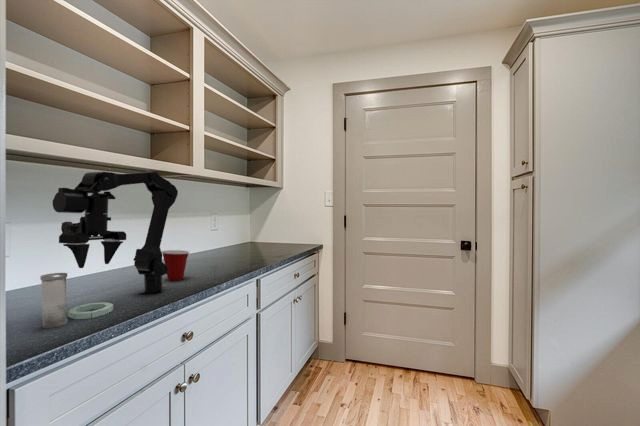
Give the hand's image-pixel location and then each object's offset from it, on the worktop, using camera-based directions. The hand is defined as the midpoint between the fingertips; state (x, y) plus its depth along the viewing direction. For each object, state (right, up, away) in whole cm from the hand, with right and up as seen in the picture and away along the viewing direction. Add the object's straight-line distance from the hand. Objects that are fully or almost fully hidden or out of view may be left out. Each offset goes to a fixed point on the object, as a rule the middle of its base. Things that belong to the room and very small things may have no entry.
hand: (94, 265), depth 97 cm
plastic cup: (+8, -12, +38) cm, 41 cm away
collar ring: (+1, -13, -3) cm, 13 cm away
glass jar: (-2, -13, -12) cm, 18 cm away
